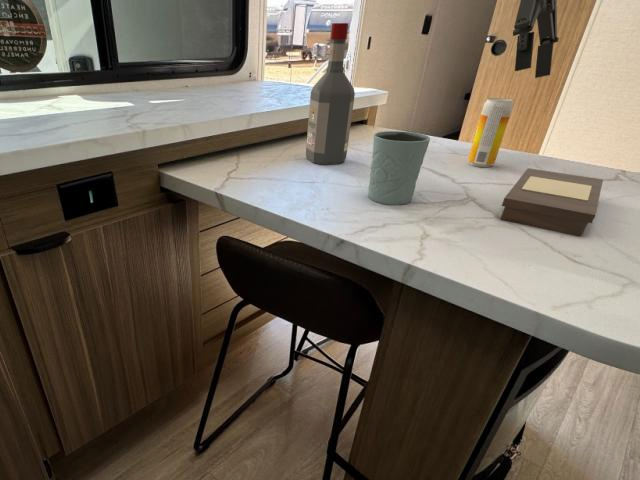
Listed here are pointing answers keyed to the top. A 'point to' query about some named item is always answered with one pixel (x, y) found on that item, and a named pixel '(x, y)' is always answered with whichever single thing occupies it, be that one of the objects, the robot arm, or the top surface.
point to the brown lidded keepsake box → (553, 201)
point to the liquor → (331, 106)
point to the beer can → (490, 131)
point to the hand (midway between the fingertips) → (533, 73)
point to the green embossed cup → (396, 166)
